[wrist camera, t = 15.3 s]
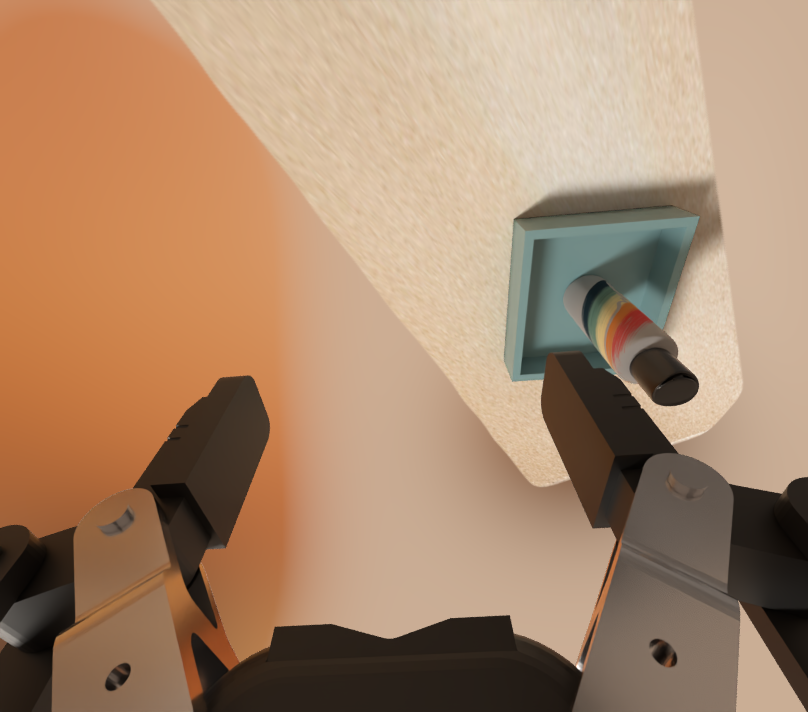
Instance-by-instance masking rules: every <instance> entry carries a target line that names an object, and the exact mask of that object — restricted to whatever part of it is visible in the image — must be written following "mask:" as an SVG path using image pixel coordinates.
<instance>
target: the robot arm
mask: <svg viewBox="0 0 808 712" xmlns="http://www.w3.org/2000/svg"><path fill="white" fill-rule="evenodd" d="M640 406H641V405H640V404H639V403H638V401H637V400H636V399H635V398H634V396H631V393H630V391H629V390H628V389H627V387H626V386H625V385H624V384H623V382H622V381H621V380H620V379H619V378H617V377H616V376H614V375H613V374H611V373H610V372H608V371H607V370H605V369H604V368H593V367H592V366H591V364H590V363H589V361H588V360H587V359H586V357H585V356H584V354H583V353H582V352H581V351H579V350H578V351H566V352H553V353H549V354H548V356H547V359H546V366H545V374H544V381H543V388H542V395H541V408H542V414H543V418H544V421H545V423H546V425H547V427H548V430H549V432H550V434H551V436H552V439H553V441H554V443H555V445H556V448H557V450H558V452H559V454H560V457H561V459H562V461H563V463H564V465H565V468H566V470H567V472H568V474H569V477H570V479H571V481H572V483H573V486H574V488H575V490H576V492H577V494H578V497H579V499H580V501H581V503H582V506H583V508H584V510H585V512H586V515H587V517H588V519H589V521H590V524H591V526H592V528H608V527H611V529H612V531H613V533H614V535H615V537H616V542H615V544H614V547H613V550H612V554H611V557H610V560H609V563H608V566H607V570H606V573H605V576H604V579H603V582H602V586H601V589H600V592H599V595H598V598H597V602H596V605H595V608H594V611H593V614H592V617H591V620H590V623H589V626H588V629H587V632H586V635H585V638H584V641H583V644H582V647H581V650H580V653H579V656H578V659H577V662H576V665H575V666H574V665H573V664H572V663H571V662H570V661H568V660H567V659H565V658H564V657H563V656H561V655H560V654H558V653H557V652H555V651H554V650H552V649H550V648H548V647H546V646H545V645H543V644H541V643H539V642H537V641H534V640H532V639H529V638H527V637H524V636H520V635H517V634H514V633H513V628H512V624H511V619H510V615H507V616H487V617H467V618H450V619H447V620H445V621H442V622H439V623H436V624H434V625H431V626H428V627H425V628H422V629H419V630H417V631H414V632H411V633H408V634H406V635H403V636H400V637H397V638H394V639H386V638H381V637H377V636H374V635H370V634H366V633H362V632H359V631H355V630H351V629H348V628H344V627H340V626H337V625H333V624H323V625H303V626H284V627H275V629H274V633H273V637H272V641H271V645H270V647H268V648H265V649H263V650H261V651H259V652H257V653H255V654H253V655H251V656H249V657H248V658H246V659H245V660H243V661H242V662H239V660H238V658H237V656H236V654H235V652H234V650H233V649H232V647H231V645H230V643H229V641H228V638H227V636H226V633H225V630H224V627H223V624H222V621H221V618H220V615H219V612H218V609H217V606H216V603H215V600H214V597H213V593H212V590H211V587H210V584H209V581H208V578H207V575H206V572H205V569H204V567H203V565H202V564H201V560H202V558H203V555H204V553H205V550H206V549H221V548H226V546H227V543H228V541H229V538H230V535H231V533H232V531H233V528H234V525H235V523H236V520H237V518H238V515H239V513H240V510H241V508H242V505H243V502H244V500H245V497H246V495H247V492H248V489H249V487H250V484H251V482H252V479H253V477H254V474H255V471H256V469H257V466H258V464H259V461H260V459H261V456H262V454H263V451H264V449H265V446H266V443H267V441H268V438H269V431H270V423H269V418H268V415H267V412H266V410H265V407H264V404H263V402H262V399H261V397H260V394H259V391H258V389H257V386H256V384H255V381H254V379H253V378H252V377H251V376H236V377H223V378H220V379H219V380H218V381H217V383H216V384H215V386H214V387H213V389H212V390H211V392H210V393H209V395H208V396H207V397H202V398H201V399H200V400H199V401H198V402H196V403H195V404H194V405H193V406H191V407H190V408H189V409H188V410H187V411H186V412H185V413H184V415H183V416H182V418H181V419H180V421H179V422H178V423H177V425H176V429H173V431H172V432H171V434H170V435H169V436H168V441H165V442H164V444H163V445H162V447H161V448H160V449H159V451H158V452H157V454H156V455H155V457H154V458H153V460H152V461H151V463H150V464H149V466H148V467H147V468H146V470H145V471H144V473H143V474H142V476H141V477H140V479H139V480H138V482H137V483H136V484H135V486H134V487H133V489H128V490H124V491H121V492H118V493H116V494H114V495H112V496H110V497H108V498H106V499H105V500H103V501H102V502H100V503H99V504H97V505H96V506H95V507H94V508H92V509H91V510H90V511H89V512H88V513H87V514H86V515H85V516H84V518H83V519H82V520H81V521H80V523H79V525H78V526H76V527H72V528H69V529H66V530H63V531H60V532H57V533H54V534H51V535H48V536H45V537H42V538H39V539H38V538H37V537H36V536H35V535H34V534H33V533H32V532H30V531H29V530H28V529H27V528H26V527H24V526H20V525H11V526H6V527H2V528H0V638H1V639H3V640H4V641H6V642H7V644H6V645H5V647H4V648H3V650H2V651H1V653H0V712H736V698H737V696H736V695H737V676H738V655H739V634H740V607H739V603H738V601H739V602H740V604H741V605H742V607H743V608H744V610H745V612H746V613H747V615H748V616H749V618H750V620H751V621H752V623H753V625H754V626H755V628H756V630H757V631H758V633H759V634H760V636H761V638H762V639H763V641H764V643H765V644H766V646H767V647H768V649H769V651H770V652H771V654H772V656H773V657H774V659H775V661H776V662H777V664H778V665H779V667H780V668H781V670H782V672H783V674H784V675H785V677H786V678H787V680H788V682H789V683H790V685H791V687H792V688H793V690H794V691H795V693H796V695H797V696H798V698H799V700H800V701H801V703H802V704H803V706H804V708H805V709H806V711H807V712H808V477H804V478H799V479H796V480H794V481H792V482H791V483H790V484H789V485H788V487H787V488H786V490H785V491H784V492H783V494H780V493H774V492H768V491H763V490H758V489H752V488H747V487H741V486H736V485H732V484H728V482H727V481H726V480H725V479H724V478H723V477H722V476H721V475H720V474H719V473H718V472H717V471H715V470H714V469H713V468H712V467H710V466H708V465H706V464H705V463H703V462H701V461H699V460H697V459H694V458H692V457H688V456H685V455H681V454H678V453H677V451H676V450H675V449H674V447H673V446H672V445H671V444H670V442H669V441H668V440H667V438H666V437H665V436H664V435H663V433H662V432H661V431H660V429H659V428H658V427H657V426H656V424H655V423H654V422H653V421H652V419H651V418H650V417H649V415H648V414H647V413H646V412H645V410H644V409H643V408H642V409H641V407H640Z"/></svg>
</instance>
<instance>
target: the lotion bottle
mask: <svg viewBox="0 0 808 712" xmlns="http://www.w3.org/2000/svg"><path fill="white" fill-rule="evenodd" d="M563 303H564V306H565V308H566V310H567V312H568V313H569V314H570V316H571V317H572V318H573V319H574V321H575V322H576V323H577V324H578V326H579V327H580V328H581V330H582V331H583V332H584V333H585V335H586V336H587V337H588V338H589V340H590V341H591V342H592V344H593V345H594V346H595V347H596V349H597V350H598V351H599V352H600V354H601V355H602V356H603V357H604V359H605V360H606V361H607V363H608V364H609V365H610V366H611V368H612V369H613V370H614V371H615V372H616V374H617V375H618V376H619V377H620V378H621V379H623V380H624V381H626V382H629V383H633V384H639V385H640V386H641V388H642V389H643V390H644V391H645V392H646V394H647V395H648V396H649V397H650V398H651V400H652V401H653V402H654V403H656V404H658V405H662V406H677V405H681V404H684V403H686V402H688V401H690V400H691V399H692V398H693V397H694V396H695V395H696V394H697V392H698V389H699V382H698V379H697V377H696V376H695V375H694V374H693V373H692V372H691V371H690V370H689V369H688V368H687V367H685V366H684V365H683V364H682V363H681V362H680V361H679V360H678V359H677V356H678V347H677V345H676V343H675V342H674V340H673V339H672V338H671V337H670V336H669V335H667V334H666V333H665V332H664V331H663V330H662V329H661V328H660V327H658V326H657V325H656V324H655V323H654V322H653V321H652V320H650V319H649V318H648V317H647V316H646V315H645V314H644V313H643V312H641V311H640V310H639V309H638V308H637V307H636V306H635V305H633V304H632V303H631V302H630V301H629V300H628V299H627V298H625V297H624V296H623V295H622V294H621V293H620V292H619V291H617V290H616V289H615V288H614V287H613V286H612V285H610V284H609V283H608V282H607V281H606V280H604V279H603V278H601V277H599V276H596V275H586V276H582V277H580V278H578V279H576V280H575V281H573V282H572V283H571V284H570V285H569V286H568V287H567V289H566V291H565V293H564V296H563Z"/></svg>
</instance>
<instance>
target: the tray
mask: <svg viewBox="0 0 808 712" xmlns="http://www.w3.org/2000/svg"><path fill="white" fill-rule="evenodd" d="M699 218H700V216H698V215H695V214H693V213H690V212H687V211H685V210H682V209H680V208H677V207H674V206H660V207H649V208H637V209H626V210H614V211H602V212H591V213H579V214H567V215H556V216H544V217H533V218H521V219H514V224H513V238H512V252H511V266H510V280H509V294H508V308H507V323H506V337H505V351H504V363H505V365H506V368H507V370H508V373H509V375H510V378H511V380H512V382H513V381H527V380H542V379H544V374H545V366H546V359H547V356H548V354H549V353H553V352H566V351H578V350H579V351H581V352H582V353H583V354H584V356H585V357H586V359H587V360H588V361H589V363H590V364H591V366H592V367H593V368H604V369H605V370H607V371H608V372H610V373H611V374H613V375H614V374H616V372H615V371H614V370H613V369H612V368H611V366H610V365H609V364H608V363H607V361H606V360H605V359H604V357H603V356H602V355H601V354H600V352H599V351H598V350H597V349H596V347H595V346H594V345H593V344H592V342H591V341H590V340H589V338H588V337H587V336H586V335H585V333H584V332H583V331H582V330H581V328H580V327H579V326H578V324H577V323H576V322H575V321H574V319H573V318H572V317H571V316H570V314H569V313H568V312H567V310H566V308H565V306H564V303H563V296H564V293H565V291H566V289H567V287H568V286H569V285H570V284H571V283H572V282H573V281H575V280H576V279H578V278H580V277H582V276H586V275H596V276H599V277H601V278H603V279H604V280H606V281H607V282H608V283H609V284H610V285H612V286H613V287H614V288H615V289H616V290H617V291H619V292H620V293H621V294H622V295H623V296H624V297H625V298H627V299H628V300H629V301H630V302H631V303H632V304H633V305H635V306H636V307H637V308H638V309H639V310H640V311H641V312H643V313H644V314H645V315H646V316H647V317H648V318H649V319H650V320H652V321H653V322H654V323H655V324H656V325H657V326H658V327H660V328H661V329H662V330H663V328H664V325H665V322H666V319H667V316H668V313H669V310H670V307H671V304H672V300H673V297H674V294H675V291H676V288H677V285H678V282H679V279H680V276H681V273H682V270H683V267H684V264H685V261H686V258H687V255H688V251H689V248H690V245H691V242H692V239H693V236H694V233H695V230H696V227H697V224H698V221H699Z"/></svg>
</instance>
